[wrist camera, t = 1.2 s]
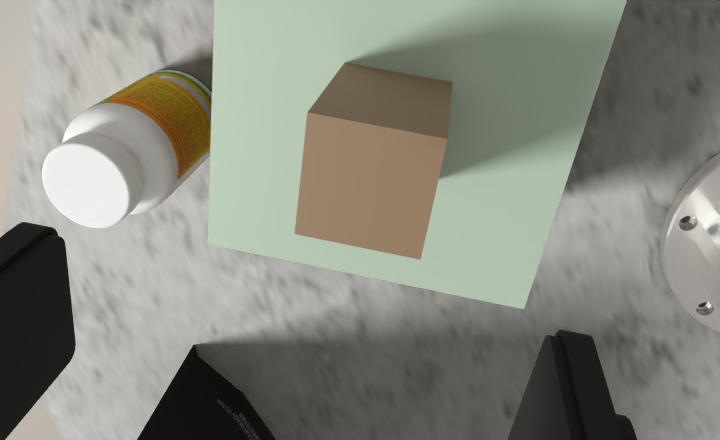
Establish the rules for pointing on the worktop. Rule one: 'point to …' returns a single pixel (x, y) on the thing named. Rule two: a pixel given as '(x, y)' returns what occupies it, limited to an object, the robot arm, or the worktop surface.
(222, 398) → the protein powder
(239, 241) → the lid
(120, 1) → the worktop surface
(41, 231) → the robot arm
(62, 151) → the supplement bottle
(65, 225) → the worktop surface
